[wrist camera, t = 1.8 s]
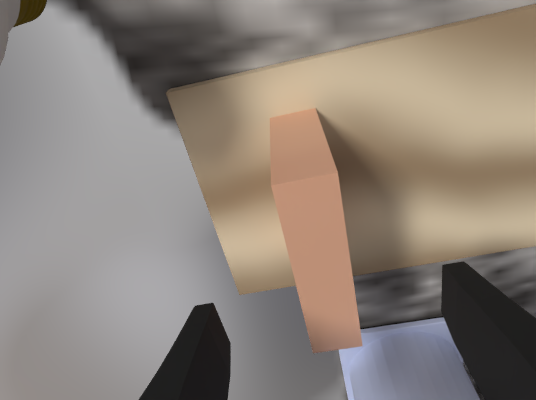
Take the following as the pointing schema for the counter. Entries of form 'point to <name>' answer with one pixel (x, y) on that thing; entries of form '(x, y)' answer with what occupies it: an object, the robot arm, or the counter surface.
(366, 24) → the counter surface
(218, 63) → the counter surface
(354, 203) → the mat
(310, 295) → the tile
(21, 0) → the light bulb
